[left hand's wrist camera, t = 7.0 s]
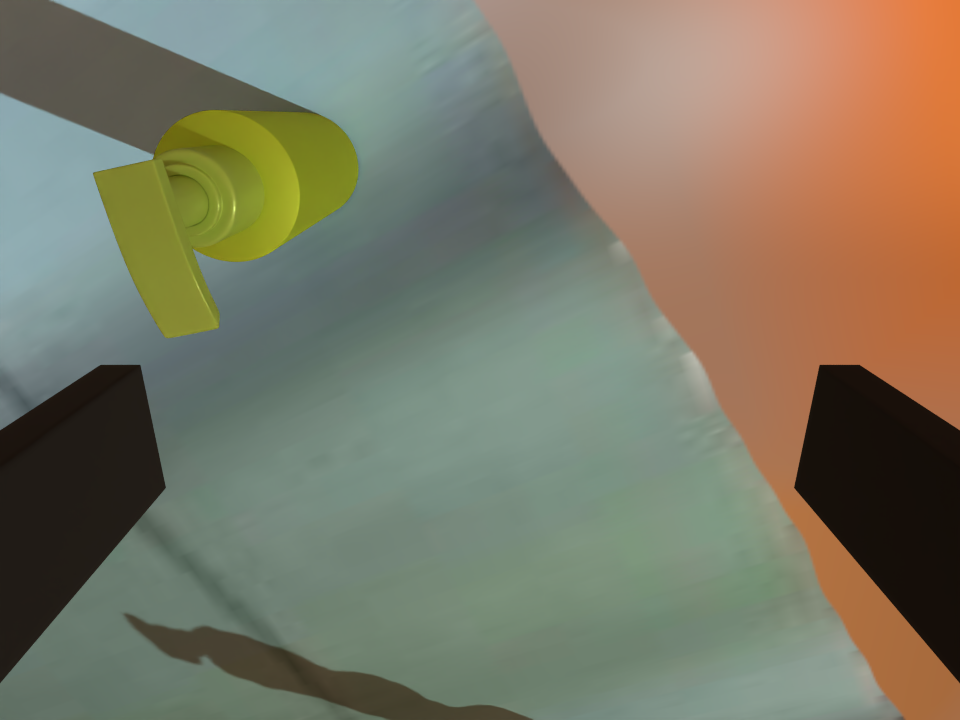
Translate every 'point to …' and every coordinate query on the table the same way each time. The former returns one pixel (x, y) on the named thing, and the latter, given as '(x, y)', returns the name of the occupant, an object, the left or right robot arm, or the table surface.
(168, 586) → the table surface
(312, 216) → the soap dispenser
